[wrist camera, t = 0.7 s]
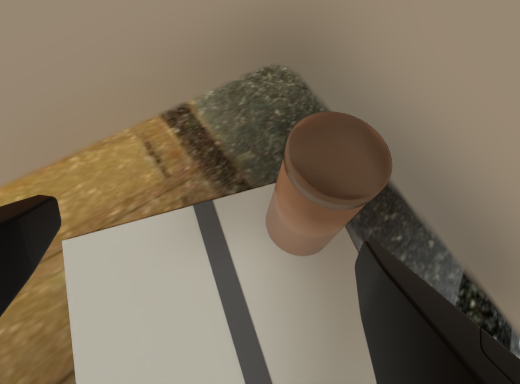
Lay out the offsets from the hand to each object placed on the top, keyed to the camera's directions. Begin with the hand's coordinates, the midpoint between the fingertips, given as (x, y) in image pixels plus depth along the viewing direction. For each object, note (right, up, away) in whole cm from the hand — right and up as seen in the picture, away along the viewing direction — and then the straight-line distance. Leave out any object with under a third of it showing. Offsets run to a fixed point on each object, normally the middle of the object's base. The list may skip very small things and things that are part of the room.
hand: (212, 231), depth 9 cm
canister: (+5, -1, +17) cm, 17 cm away
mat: (0, -8, +13) cm, 15 cm away
